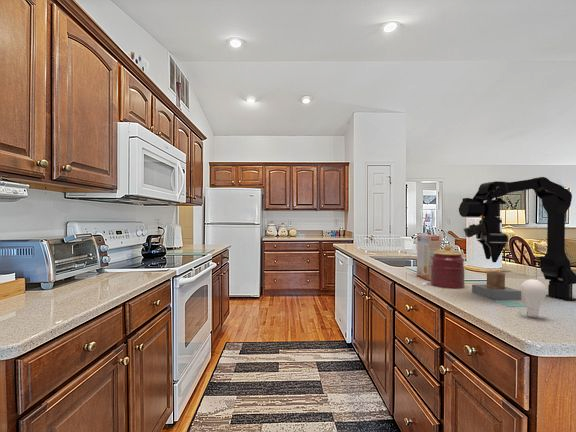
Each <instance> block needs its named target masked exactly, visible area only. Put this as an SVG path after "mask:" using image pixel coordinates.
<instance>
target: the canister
mask: <svg viewBox="0 0 576 432" xmlns="http://www.w3.org/2000/svg"><path fill="white" fill-rule="evenodd" d="M433 253H434V256H432V257H431V259H432V265H431V281H430V285H431V286H433V287H436V288H442V289H453V290H455V289H456V290H457V289H464V288H465V285H466V284H465V269H466V268H465V265H464V262H465V260H466V259H465V258H463V253H462V252H461V251H460V250H457V249H456V250H455V249H452V246H451V245H449V244H445V245H444V246H443V249H442V248H441V249H438V250H436V251H434V252H433Z"/></svg>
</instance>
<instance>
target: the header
mask: <svg viewBox="0 0 576 432" xmlns="http://www.w3.org/2000/svg"><path fill="white" fill-rule="evenodd" d="M471 293H472V294H475V295H478V296H480V297H481V296H482V297H485V298H487V299H489V300H493V301H521V300H522V293H521V290H518V289H514V288H511V287H508V286H505V289H492V288H489V287H487V283H485V284H481V283H480V284H479V283H478V284H477V283H476V284H475V283H473V284H471Z"/></svg>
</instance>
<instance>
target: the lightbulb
mask: <svg viewBox="0 0 576 432" xmlns="http://www.w3.org/2000/svg"><path fill="white" fill-rule="evenodd" d="M547 290H548V289H547V287H546V285H545V284H544V283H543V282H541V281H540V280H537V279H534V278H533V279H532V278H531V279H526V280H524V281H523V282H522V284H521V285H520V290H519V291H521V296H523V298H524V300H525V305H526V306H527V307H526V308H527V315H528V316H530V317H531V318H536V317H539V313H540V312H539V311H540V309H541V303H542V301H543V300H544V298H546V297H547V296H546V295H547V293H548V291H547Z"/></svg>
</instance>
